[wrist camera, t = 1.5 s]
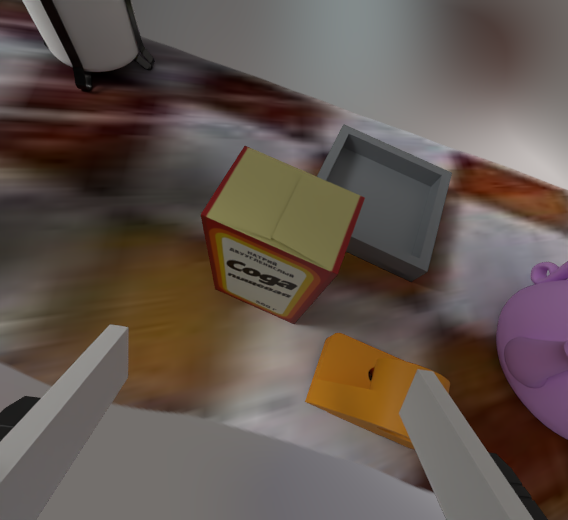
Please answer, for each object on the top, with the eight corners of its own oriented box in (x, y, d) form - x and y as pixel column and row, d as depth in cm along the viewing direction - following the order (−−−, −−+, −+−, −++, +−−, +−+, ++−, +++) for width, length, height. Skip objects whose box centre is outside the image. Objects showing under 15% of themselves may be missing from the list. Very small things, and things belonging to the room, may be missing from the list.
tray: (293, 227, 38) (298, 212, 35) (335, 143, 45) (343, 124, 42) (411, 281, 38) (427, 271, 34) (436, 188, 44) (451, 172, 41)
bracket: (416, 373, 33) (505, 365, 22) (403, 445, 30) (497, 476, 19) (326, 334, 33) (370, 306, 23) (303, 401, 30) (341, 407, 20)
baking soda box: (215, 288, 34) (200, 211, 19) (241, 241, 36) (244, 141, 22) (293, 324, 33) (339, 272, 19) (313, 273, 36) (367, 194, 22)
